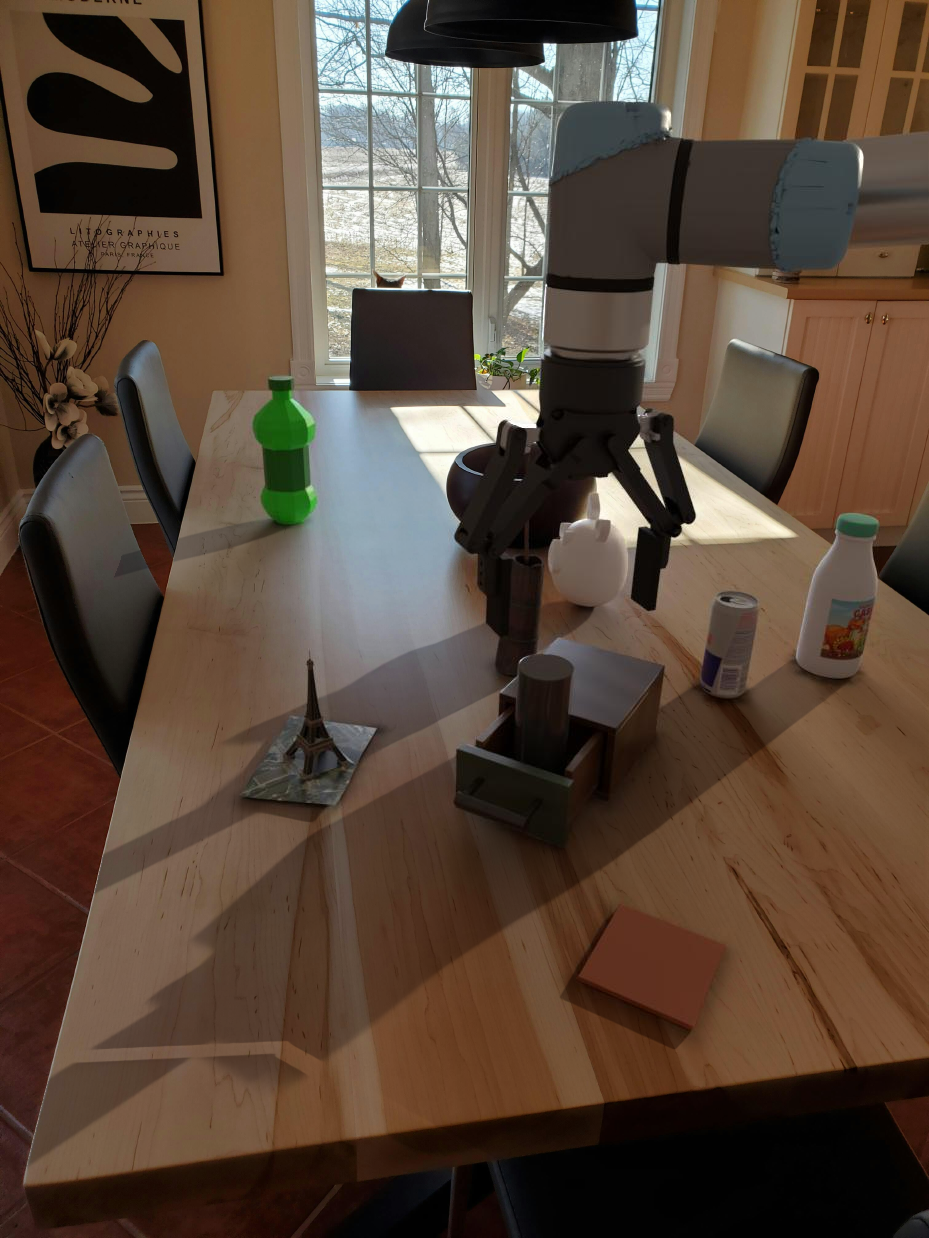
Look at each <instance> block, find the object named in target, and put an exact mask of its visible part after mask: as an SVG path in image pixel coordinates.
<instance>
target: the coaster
mask: <svg viewBox="0 0 929 1238" xmlns="http://www.w3.org/2000/svg"><path fill="white" fill-rule="evenodd" d="M726 947H727V946H726V944H725V943H721V942H719V941H716V940H715V939H714V940H713V939H711V938H708V937H706V936H704V935H701V934H698V933H696V932H693V931H691V930H688V929H686V928H683V927H681V926H678V925H676V924H673V923H671V922H668V921H665V920H664V919H663V920H662V919H660V918H657V917H655V916H653V915H651V914H647V913H645V912H643V911H640V910H637V909H635V908H633V907H630V906H628V905H625V904H622V903H619V905H617V908H616V910H615V912H614V913H613V915H612V917H611V918H610V920H609V921H608V924H607V925H606V927H605V929H604V930H603V932H602V934H601V935H600V937H599V940H597V942H596V944H595V947H594V948H593V950H592V951H591V953H590V955H589V957H588V958H587V960H586V961H585V964H584V965H583V967H582V969H581V970H580V973H579V974H578V976H577V981H578V982H579V983H582V984H584V985H587V986H588V987H592V988H594V989H595V990H597V991H601V992H603V993H605V994H607V995H609V996H612V997H614V998H617V999H618V1000H621V1001H623V1002H625V1003H627V1004H629V1005H632V1006H634V1007H636V1008H639V1009H641V1010H644V1011H645V1012H648V1013H650V1014H653V1015H655V1016H657V1017H659V1018H661V1019H664V1020H666V1021H668V1022H670V1023H673V1024H675V1025H677V1026H680V1027H681V1028H684V1029H686V1030H689V1031H691V1032H693V1030H694V1028H695V1025H696V1023H697V1020H698V1017H699V1016H700V1012H701V1011H702V1008H703V1005H704V1003H705V1000H706V998H707V996H708V993H709V992H710V991H709V990H710V988H711V985H712V983H713V980H714V978H715V976H716V973H717V971H718V968H719V965H720V963H721V962H722V961H721V960H722V958H723V956H724V953H725V951H726Z"/></svg>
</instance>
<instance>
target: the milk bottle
mask: <svg viewBox="0 0 929 1238" xmlns="http://www.w3.org/2000/svg"><path fill="white" fill-rule="evenodd" d="M835 527H836V528H835V531H834V534H835V535H836V536H835V539H834V542H833V543H832V545H831V547H830V549H829V550H828V551H827V553H826V554H825V555H824V557H823V558H822V559H821V560H820V562H819V563H818V565H817V567H816V569H815V570H814V573H813V576H812V578H811V582H810V586H809V590H808V595H807V599H806V603H805V609H804V614H803V618H802V623H801V628H800V634H799V638H798V642H797V647H796V653H795V659H796V662H797V664H798V665H799V667H801V668H802V669H803V670H805V671H806V672H809V673H811V674H813V675H816V676H819V677H823V678H829V679H847V678H850V677H853V676H854V675H855V674H856V673H857V672H858V671H859V669H860V666H861V663H862V659H863V654H864V651H865V646H866V642H867V638H868V637H867V636H868V634H869V629H870V626H871V621H872V616H873V612H874V607H875V603H876V597H877V593H878V585H879V582H878V580H879V579H878V573H877V567H876V565H875V560H874V554H873V542H874V541H875V540H876V539H877V534H878V531H879V527H880V522H879V520H878V519H877V518H875V517H874V516H871V515H867V514H865V513H864V514H863V513H854V512H847V513H846V512H845V513H842V514H840V515H839V516H838V518H837V520H836V525H835Z"/></svg>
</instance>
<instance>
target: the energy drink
mask: <svg viewBox="0 0 929 1238" xmlns="http://www.w3.org/2000/svg"><path fill="white" fill-rule="evenodd" d="M759 603H760V601H759V599H758V598H757V597H756V596H754V595H753V594H750V593H748V592H744V591H740V590H722V591H720V592H717V593H715V595H714V599H713V600H712V603H711V609H710V614H709V615H710V616H709V622H708V629H707V635H706V641H705V648H704V654H703V660H702V666H701V673H700V679H699V685H700V687H701V689H702V690H703V691H704V692H705V693H706V694H708V695H710V696H713V697H716V698H719V699H735V698H738V697H740V696H741V695H743V694H744V693H745V692H746V686H747V681H748V676H749V670H750V665H751V659H752V653H753V648H754V641H755V637H756V632H757V627H758V622H759V615H760V611H761V610H760V609H761V608H760V604H759Z"/></svg>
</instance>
